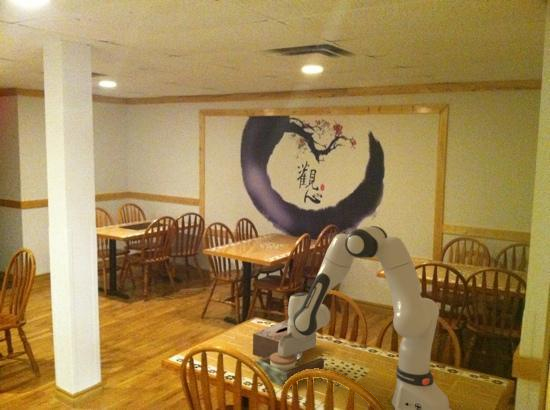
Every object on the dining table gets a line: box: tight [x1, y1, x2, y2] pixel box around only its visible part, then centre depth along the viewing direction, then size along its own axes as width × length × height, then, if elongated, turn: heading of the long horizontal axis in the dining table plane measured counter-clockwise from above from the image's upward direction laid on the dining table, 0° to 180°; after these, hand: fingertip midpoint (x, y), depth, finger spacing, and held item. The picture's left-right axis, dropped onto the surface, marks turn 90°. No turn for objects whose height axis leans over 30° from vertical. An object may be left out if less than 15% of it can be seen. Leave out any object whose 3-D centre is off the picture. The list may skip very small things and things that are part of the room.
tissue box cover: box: [252, 319, 289, 359], centre depth 230 cm, size 26×14×10 cm, turn 143°
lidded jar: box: [270, 352, 296, 372], centre depth 204 cm, size 11×11×9 cm
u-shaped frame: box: [254, 353, 325, 388], centre depth 208 cm, size 17×24×5 cm
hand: (296, 362), depth 210 cm, fingers closed
